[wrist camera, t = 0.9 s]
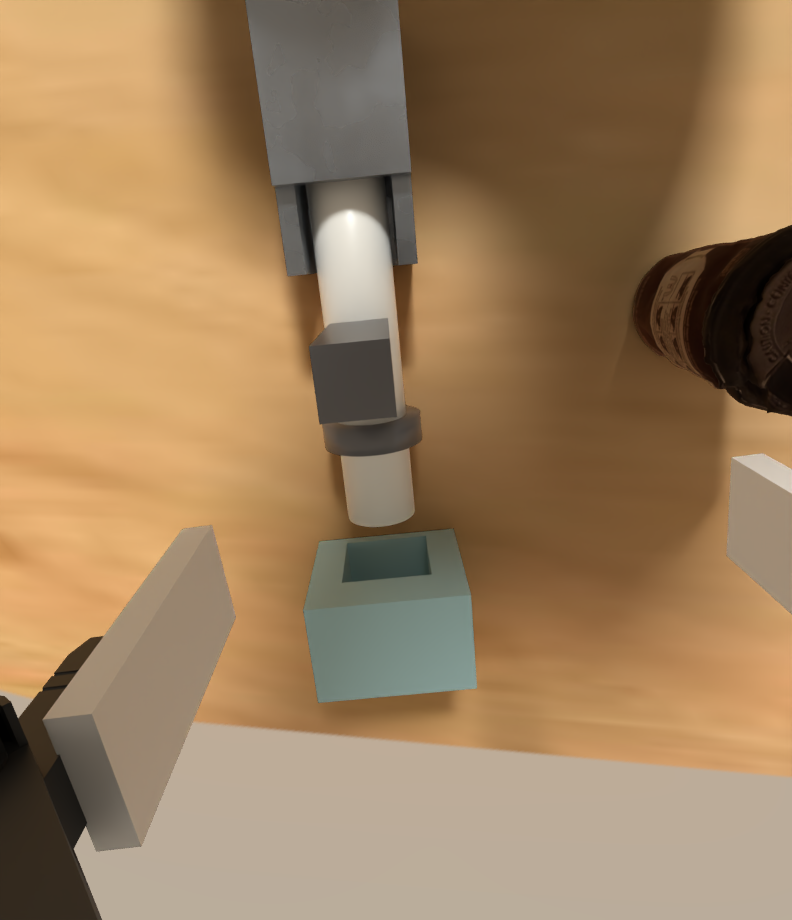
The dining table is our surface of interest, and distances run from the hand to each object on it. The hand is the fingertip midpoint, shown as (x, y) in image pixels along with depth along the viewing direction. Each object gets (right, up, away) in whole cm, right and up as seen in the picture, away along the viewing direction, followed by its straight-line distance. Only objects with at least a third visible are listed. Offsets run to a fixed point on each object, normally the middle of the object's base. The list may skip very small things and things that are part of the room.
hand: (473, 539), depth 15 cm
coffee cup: (+15, +11, +21) cm, 28 cm away
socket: (-2, -6, +26) cm, 27 cm away
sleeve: (-5, +19, +18) cm, 26 cm away
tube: (-4, +12, +20) cm, 24 cm away
